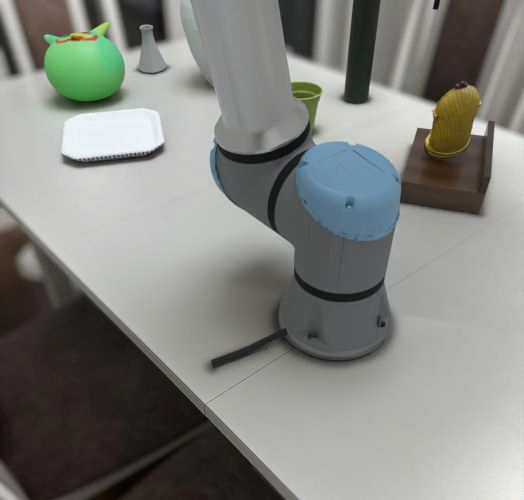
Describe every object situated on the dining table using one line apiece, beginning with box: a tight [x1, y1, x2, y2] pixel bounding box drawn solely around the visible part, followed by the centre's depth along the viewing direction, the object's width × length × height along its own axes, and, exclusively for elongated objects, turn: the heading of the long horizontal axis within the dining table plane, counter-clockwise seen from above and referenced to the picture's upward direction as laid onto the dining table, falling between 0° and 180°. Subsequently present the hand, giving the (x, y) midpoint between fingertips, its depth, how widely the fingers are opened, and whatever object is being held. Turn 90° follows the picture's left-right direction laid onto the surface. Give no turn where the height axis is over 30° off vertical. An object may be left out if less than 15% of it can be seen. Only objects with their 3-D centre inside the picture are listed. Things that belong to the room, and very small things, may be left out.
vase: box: [179, 0, 214, 87], centre depth 124 cm, size 18×18×25 cm
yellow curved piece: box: [424, 80, 483, 159], centre depth 92 cm, size 12×8×15 cm
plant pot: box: [291, 80, 324, 134], centre depth 111 cm, size 9×9×9 cm
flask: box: [137, 24, 168, 74], centre depth 137 cm, size 7×7×10 cm
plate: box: [60, 107, 166, 163], centre depth 112 cm, size 21×21×2 cm
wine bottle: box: [343, 0, 382, 104], centre depth 115 cm, size 6×6×30 cm
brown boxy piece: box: [400, 120, 496, 215], centre depth 98 cm, size 22×14×7 cm, turn 162°
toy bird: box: [43, 21, 126, 102], centre depth 123 cm, size 18×17×15 cm
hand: (483, 11), depth 76 cm, fingers open, 13 cm apart
